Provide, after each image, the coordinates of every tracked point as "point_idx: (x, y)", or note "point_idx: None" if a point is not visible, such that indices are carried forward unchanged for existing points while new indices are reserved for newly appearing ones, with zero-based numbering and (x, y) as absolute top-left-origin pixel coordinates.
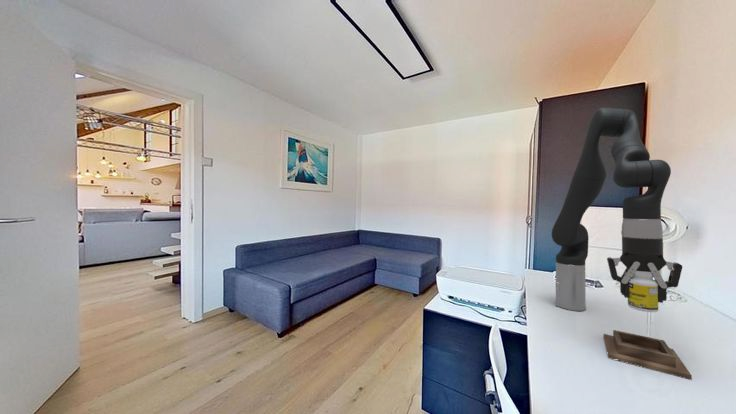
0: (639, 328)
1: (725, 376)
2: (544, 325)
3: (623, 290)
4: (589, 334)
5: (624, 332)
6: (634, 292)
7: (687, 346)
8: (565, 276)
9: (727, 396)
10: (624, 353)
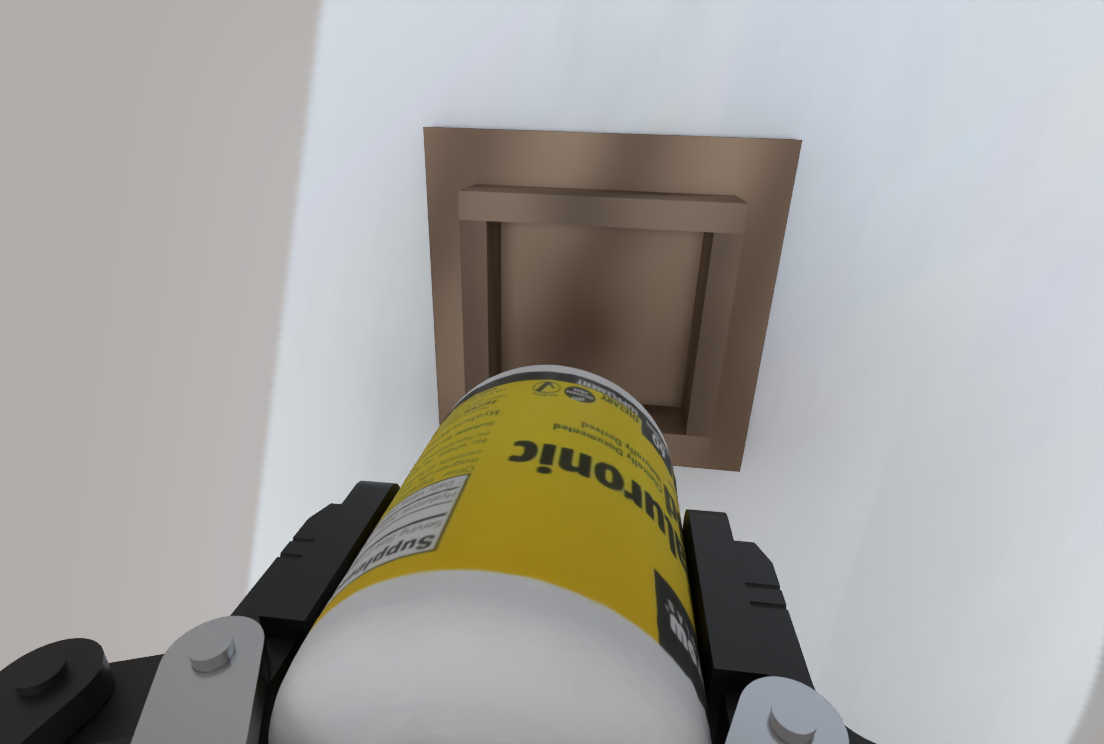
0: None
1: (299, 279)
2: (1088, 465)
3: (753, 592)
4: (809, 459)
5: None
6: (640, 515)
7: None
8: None
9: (325, 25)
10: (704, 194)
